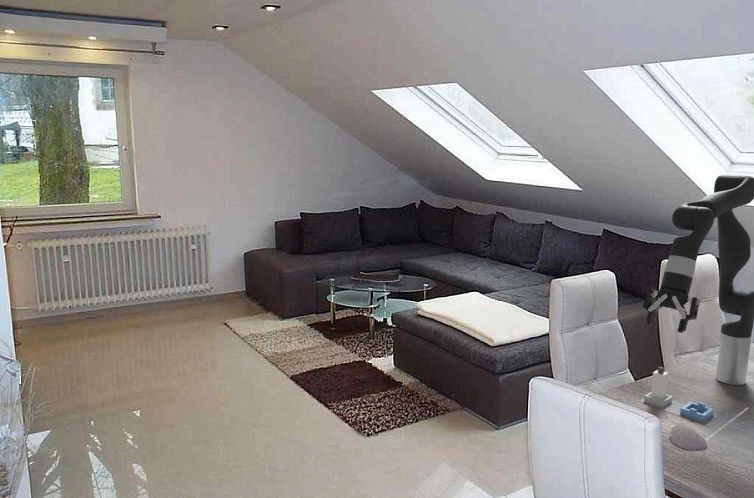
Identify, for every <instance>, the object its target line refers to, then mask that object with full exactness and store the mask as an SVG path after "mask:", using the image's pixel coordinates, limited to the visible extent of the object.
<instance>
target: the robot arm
mask: <svg viewBox="0 0 754 498" xmlns="http://www.w3.org/2000/svg"><path fill="white" fill-rule="evenodd" d="M753 200H754V177H752V176H750V175H746V174H731V173H730V174H727V173H726V174H724V173H723V174H720V175H718V176H717V177H716V179H715V181H714V185H713V192H712V193H709V194H706V195H704V196H702V197H701V198H700V199H699V200H696V201H690V202H685V203H683V204H680V205H679V206H677V207H676V208H675V210H674V211H673V213H672V217H671V221H672V224H673V226H674V227H675V228H676V229H679V230H681V231H689V232H690V231H691V233H690V234H688V235H687V236H677V237H675V238H674V239H673V241H672V245H671V249H670V252H669V256H668V259H667V261H666V264H665V267H664V272H663V275H662V280H661V283H660V289H659V290H656V289H655V290H654V289H653V288H648V290H647V292H646V295H645V298H644V301H643V304H642V308H644V309H645V310H646V311H647V312H648V314H647V317H646V323H647V326H651V327H653V326H654V323H655V319H656V315H657V314H656V312H658V311H659V310H660V309H662V308H667V309H673V310H676V311H678V313H679V315H680V319H679V323H678V327H677V333H680V334H683V333H684V332H686V330H687V326H688V322H689V321H690V320H697V316H698V313H699V308H700V307H699V306H700V302H701V301H700V299H699V298H697V297H695V296H693V297H689V294H690V290H691V286H692V283H693V279H694V275H695V272H696V264H697V259H698V255H699V251H700V248H701V247H702V244H703V243H704V241H705V239H706V237H707V235H708V234H709V232H710V230H711V229H712V227H713V224H714V222H715V219H717V234H718V235H717V236H718V237H717V241H718V242H717V243H718V245H717V247H718V258H719V259H718V261H719V288H718V306H719V309H720V310H721V312H723V313H726V314H729V315H730V314H731V315H734V316H735V315H736V316H738V317H739V316H740V319H739V320H735V321H728V322H724V323H722V325H721V327H720V334H719V335H720V336H719V337H720V338H719V347H718V354H717V364H716V370H715V371H716V372H715V379H716V380H717V381H718V382H720V383H723V384H726V385H731V386H743V385H745V384H746V383H747V375H748V374H747V373H748V366H749V360H750V350H751V343H752V335H753V334H752V332H753V328H754V291H753V290H751V289H746V288H738V287H734V279H735V278H736V276H737V274H738V273H739V272H740V271H741V270H742V269H743V268H744V267H745V266H746V264H748V262H749V261H750V259H751V254H752V253H751V252H752V251H751V249H752V248H751V237H750V235H749V233H748V232H747V230H746V228H745V227H744V226H743V224H742V223H741V222H740V221H739V219H738V218H737V216H736V215H735V213H734V209H736V208H739V207H742V206H746V205H748V204H751V202H753ZM656 296H657V298H658V299H657V300H656V301H654V298H656ZM653 301H654V303H653ZM688 302H689V303H688ZM687 303H688V304H689V307H690V308H689V312H687V309H686V307H685V305H686V304H687Z"/></svg>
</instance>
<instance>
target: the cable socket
mask: <svg viewBox="0 0 754 498" xmlns="http://www.w3.org/2000/svg"><path fill="white" fill-rule="evenodd" d="M637 402H639V403H641V404H644V405H647V406H650V407H654V408H656V409H659V410H662V411H664V412H665V411H666V412H668V413H671V414H673V415H677V416H679V417H683V418H686V419H689V420H691V421H693V422H697V423H700V424H703V425H708V424H709V423H710V422H712V420H713V421H714V419H716V418H717V417H718V416H719V414H716V413H714V411H715V409H714V408H713V407H712V408H711V407H709V406H706V403H703V402H702V401H701V402H698V403H696V402H693V401H689V402H688V403H686V404H685V403H682V402H679V401H675V400H673V395H670V394H666V399H665V400H663V401H662V400H659V399H656V398H653V397H651V391H650V392H648V393H647V394H645V395H644V397H642V398H640V399H639V400H637Z"/></svg>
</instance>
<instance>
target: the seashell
mask: <svg viewBox="0 0 754 498" xmlns="http://www.w3.org/2000/svg"><path fill="white" fill-rule="evenodd" d="M668 438H669V439H668V440H669V441H670V442H671V443H672V444H673V445H674V446H677V447H678V448H681V449H684V450H688V451H689V450H690V451H703V450H705V449H706V448H707V447H708V442H707V441H706V439H705V437H703V435H702V434H700V433H699V432H698V431H697V430H695V429H693V428H692V427H690V426H687V425H684V424H676V425H674V426H673V427H672V428H671V429H670V434H669V436H668Z"/></svg>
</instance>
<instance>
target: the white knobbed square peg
mask: <svg viewBox="0 0 754 498" xmlns="http://www.w3.org/2000/svg"><path fill="white" fill-rule="evenodd" d="M651 378H652V379H651V380H652V381H651V389H650V390H651V391H650V392H651V397H653V398H656V399H659V400H662V401H663V400H665V399H666V394H667V391H668V381H669V372H667V371H665V367H663V366H658V367H657V369H656V370H655V371H653V372H652V377H651ZM667 395H668V394H667Z"/></svg>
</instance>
